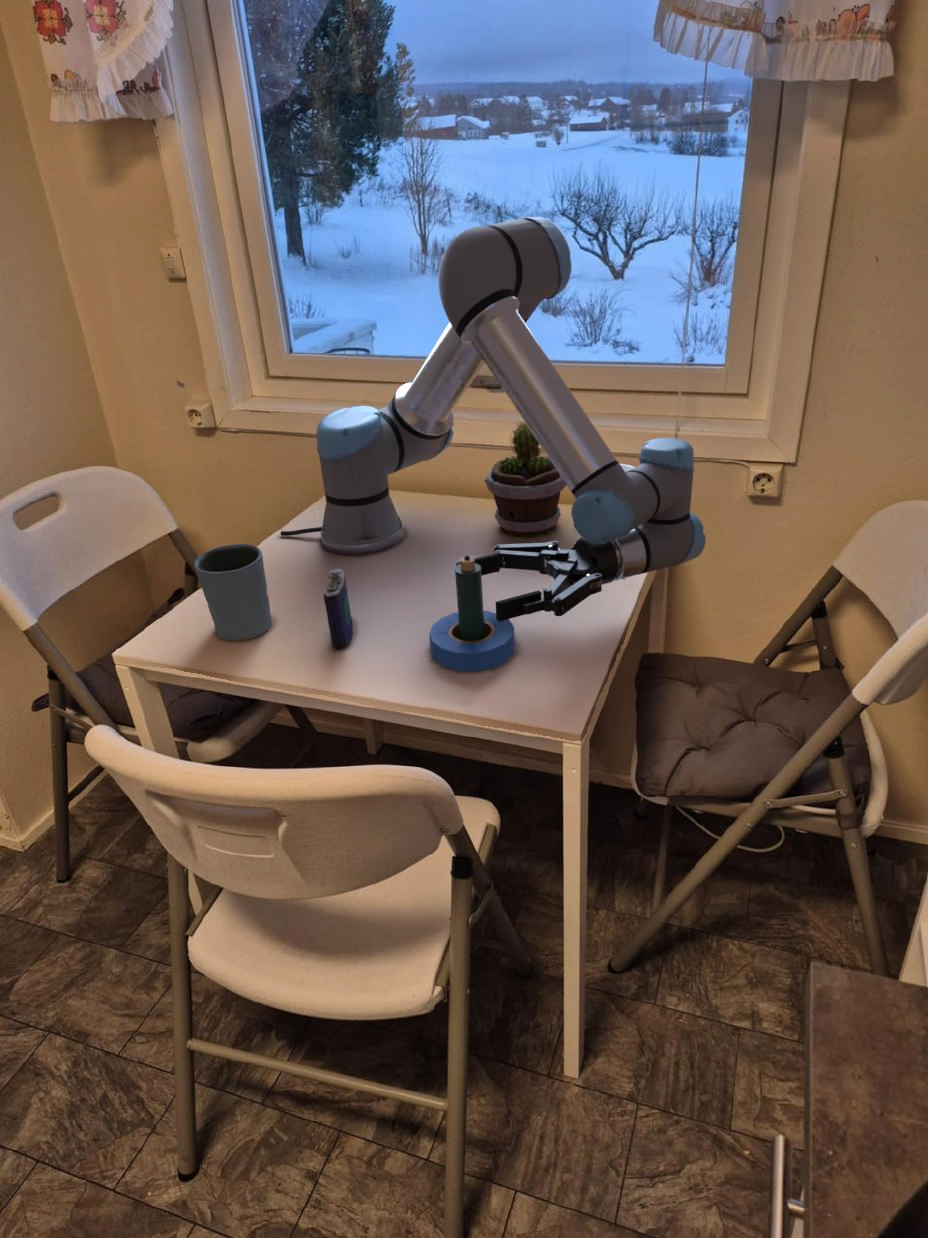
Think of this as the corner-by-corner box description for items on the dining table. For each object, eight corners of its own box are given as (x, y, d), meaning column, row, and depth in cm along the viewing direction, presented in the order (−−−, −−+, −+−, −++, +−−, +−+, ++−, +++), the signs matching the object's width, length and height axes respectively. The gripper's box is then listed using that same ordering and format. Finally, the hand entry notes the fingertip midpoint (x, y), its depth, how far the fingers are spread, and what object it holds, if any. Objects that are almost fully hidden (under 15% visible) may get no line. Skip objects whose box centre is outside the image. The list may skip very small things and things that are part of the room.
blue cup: (245, 648, 128) (229, 577, 122) (196, 635, 132) (178, 565, 126) (289, 617, 135) (276, 549, 129) (241, 605, 140) (226, 538, 134)
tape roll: (415, 658, 122) (413, 641, 121) (459, 620, 131) (458, 603, 130) (488, 679, 117) (487, 661, 115) (528, 638, 125) (528, 620, 124)
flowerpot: (566, 543, 153) (565, 434, 143) (481, 541, 156) (475, 434, 146) (571, 511, 165) (571, 409, 155) (493, 510, 168) (488, 410, 158)
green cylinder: (456, 651, 123) (448, 558, 116) (469, 640, 126) (462, 548, 119) (477, 657, 122) (471, 563, 114) (490, 645, 124) (485, 552, 117)
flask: (337, 619, 134) (327, 557, 129) (355, 618, 134) (347, 556, 128) (330, 650, 126) (320, 586, 121) (350, 649, 126) (341, 585, 120)
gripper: (654, 615, 118) (516, 655, 112) (565, 549, 138) (444, 579, 132) (657, 566, 115) (514, 605, 108) (565, 506, 135) (441, 535, 128)
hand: (476, 591), depth 120 cm, fingers open, 13 cm apart
